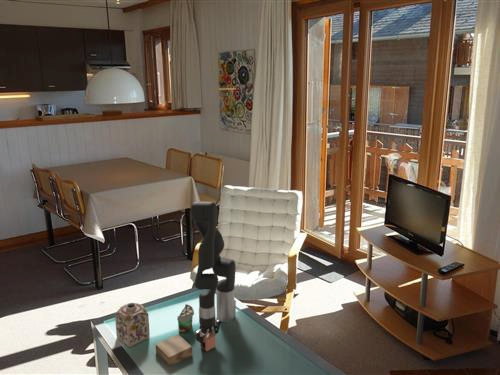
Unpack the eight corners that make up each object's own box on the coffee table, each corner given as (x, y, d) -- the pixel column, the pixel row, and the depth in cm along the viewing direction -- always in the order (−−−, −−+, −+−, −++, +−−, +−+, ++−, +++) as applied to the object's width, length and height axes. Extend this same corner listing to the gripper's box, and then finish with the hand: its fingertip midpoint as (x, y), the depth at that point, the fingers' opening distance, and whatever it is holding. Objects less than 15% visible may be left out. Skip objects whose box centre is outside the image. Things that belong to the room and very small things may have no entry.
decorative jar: (150, 337, 217) (148, 304, 212) (129, 348, 209) (127, 314, 204) (136, 327, 225) (134, 295, 220) (116, 337, 217) (113, 305, 212)
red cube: (208, 341, 213) (208, 330, 212) (215, 346, 210) (215, 335, 208) (200, 346, 210) (200, 335, 208) (207, 351, 207) (207, 340, 205)
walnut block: (178, 343, 213) (178, 334, 212) (192, 355, 205) (192, 346, 203) (156, 353, 206) (155, 344, 205) (169, 366, 197) (169, 357, 196)
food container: (189, 336, 219) (189, 318, 216) (177, 334, 220) (177, 316, 217) (197, 322, 230) (197, 304, 227) (186, 320, 231) (185, 303, 228)
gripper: (213, 304, 212) (214, 335, 217) (189, 316, 202) (190, 348, 207) (224, 310, 207) (224, 342, 212) (200, 323, 197) (201, 355, 202)
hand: (207, 344), depth 210 cm, fingers closed on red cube, 5 cm apart
